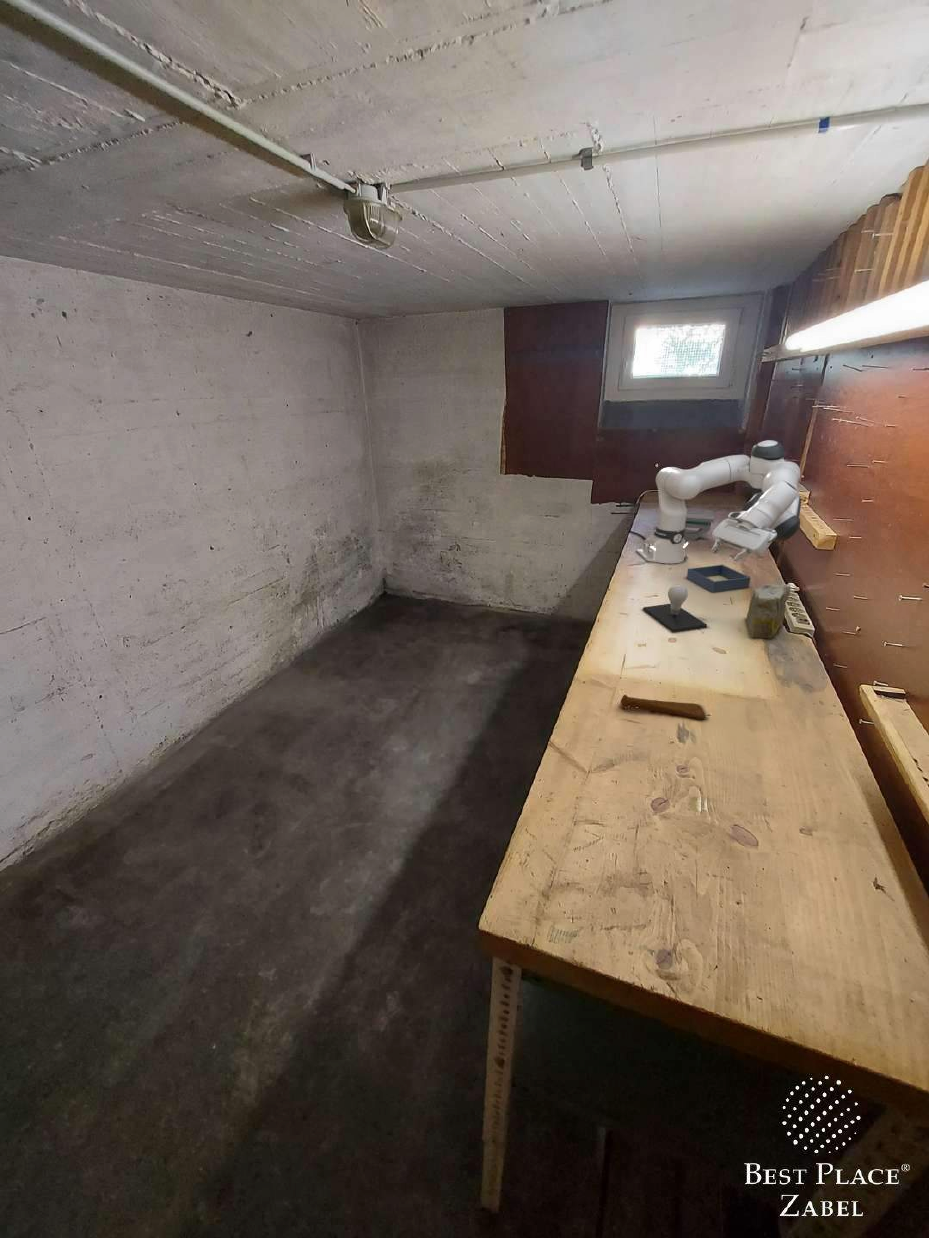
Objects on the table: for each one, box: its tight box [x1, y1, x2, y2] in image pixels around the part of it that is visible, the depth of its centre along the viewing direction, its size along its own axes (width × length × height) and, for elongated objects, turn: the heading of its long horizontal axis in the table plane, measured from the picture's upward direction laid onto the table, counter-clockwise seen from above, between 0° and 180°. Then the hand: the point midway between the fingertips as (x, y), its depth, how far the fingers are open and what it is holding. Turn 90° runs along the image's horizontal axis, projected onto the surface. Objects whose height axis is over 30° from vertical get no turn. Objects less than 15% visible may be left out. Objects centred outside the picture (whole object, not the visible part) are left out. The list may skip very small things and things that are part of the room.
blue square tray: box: [686, 564, 751, 593], centre depth 188 cm, size 16×16×4 cm
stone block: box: [746, 583, 791, 639], centre depth 150 cm, size 10×15×15 cm
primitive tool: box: [620, 694, 706, 720], centre depth 117 cm, size 19×6×4 cm, turn 82°
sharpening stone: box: [684, 513, 716, 541], centre depth 242 cm, size 25×8×11 cm, turn 62°
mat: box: [642, 603, 708, 633], centre depth 163 cm, size 18×12×1 cm, turn 12°
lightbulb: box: [667, 584, 689, 616], centre depth 160 cm, size 6×6×11 cm
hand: (723, 555), depth 161 cm, fingers open, 8 cm apart
